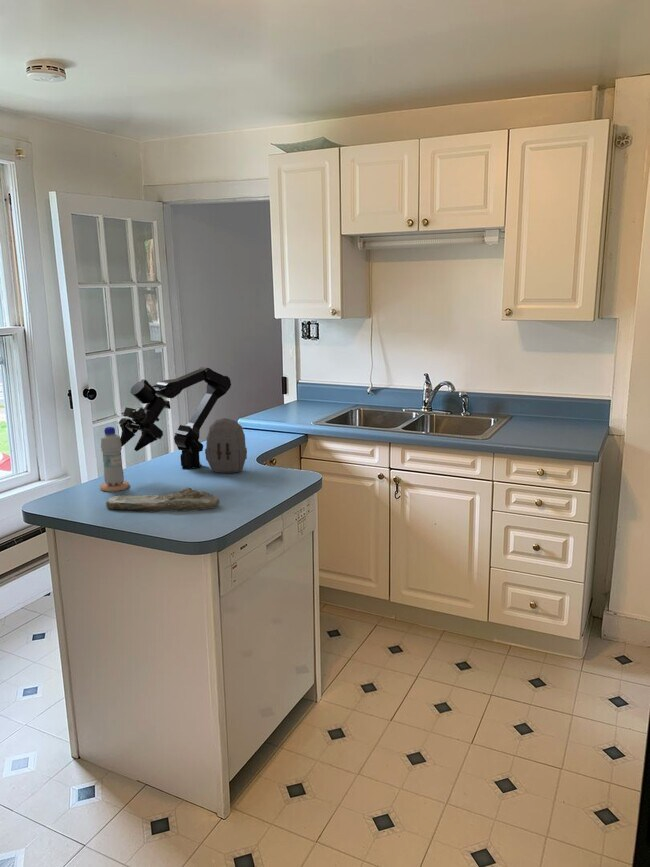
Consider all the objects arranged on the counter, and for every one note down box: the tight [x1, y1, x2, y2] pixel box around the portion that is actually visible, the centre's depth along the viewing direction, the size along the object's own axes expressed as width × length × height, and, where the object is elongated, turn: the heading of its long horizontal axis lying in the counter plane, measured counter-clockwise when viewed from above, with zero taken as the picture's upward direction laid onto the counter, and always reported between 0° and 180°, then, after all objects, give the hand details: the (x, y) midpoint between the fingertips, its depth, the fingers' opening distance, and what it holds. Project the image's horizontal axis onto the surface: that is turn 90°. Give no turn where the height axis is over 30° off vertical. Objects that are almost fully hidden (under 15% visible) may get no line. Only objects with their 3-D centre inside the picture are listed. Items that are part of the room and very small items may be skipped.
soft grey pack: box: [204, 417, 248, 474], centre depth 242 cm, size 15×8×20 cm, turn 84°
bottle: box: [100, 426, 125, 486], centre depth 226 cm, size 7×7×20 cm
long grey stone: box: [105, 487, 220, 512], centre depth 208 cm, size 35×5×10 cm
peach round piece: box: [99, 480, 130, 492], centre depth 228 cm, size 10×10×1 cm
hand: (127, 448), depth 230 cm, fingers open, 9 cm apart
